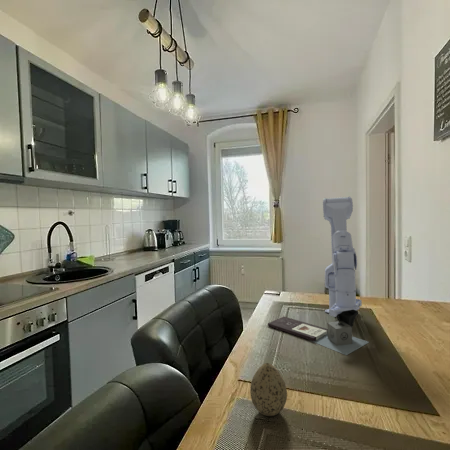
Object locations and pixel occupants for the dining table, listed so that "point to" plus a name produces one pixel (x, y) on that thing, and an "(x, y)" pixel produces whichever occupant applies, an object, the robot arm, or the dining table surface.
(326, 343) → the mat
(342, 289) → the robot arm
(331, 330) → the light grey cube
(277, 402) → the decorative egg
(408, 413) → the dining table surface
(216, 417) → the dining table surface
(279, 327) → the chocolate bar
